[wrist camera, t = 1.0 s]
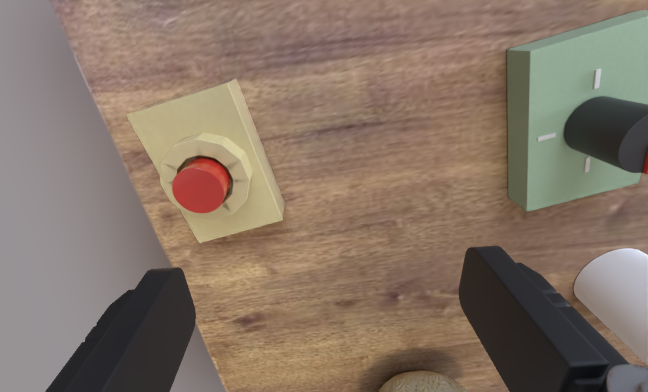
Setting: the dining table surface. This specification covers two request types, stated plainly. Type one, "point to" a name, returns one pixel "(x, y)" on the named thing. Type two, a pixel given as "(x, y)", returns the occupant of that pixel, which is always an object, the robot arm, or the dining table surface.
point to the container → (618, 295)
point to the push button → (201, 185)
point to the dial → (611, 132)
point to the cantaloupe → (421, 383)
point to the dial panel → (569, 107)
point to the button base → (212, 156)
